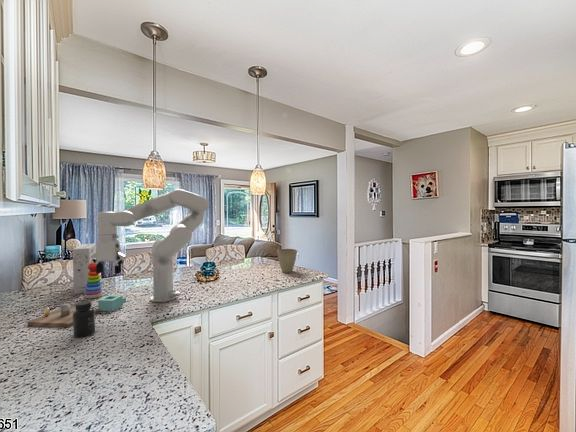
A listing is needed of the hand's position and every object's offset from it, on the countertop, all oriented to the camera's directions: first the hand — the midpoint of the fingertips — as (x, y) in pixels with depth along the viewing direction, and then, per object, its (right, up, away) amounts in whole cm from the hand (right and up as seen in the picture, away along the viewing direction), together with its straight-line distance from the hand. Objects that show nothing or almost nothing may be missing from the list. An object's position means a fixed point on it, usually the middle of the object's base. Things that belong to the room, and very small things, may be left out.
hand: (108, 273), depth 133 cm
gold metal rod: (-18, -16, -14) cm, 27 cm away
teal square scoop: (+1, -17, +3) cm, 17 cm away
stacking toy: (-19, -16, +16) cm, 30 cm away
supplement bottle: (+8, -18, -27) cm, 33 cm away
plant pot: (+85, -14, +74) cm, 114 cm away
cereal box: (-35, -16, +33) cm, 50 cm away
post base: (-11, -17, -12) cm, 24 cm away
